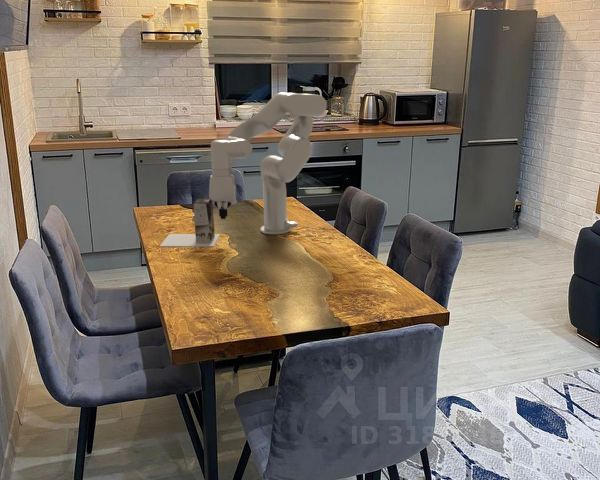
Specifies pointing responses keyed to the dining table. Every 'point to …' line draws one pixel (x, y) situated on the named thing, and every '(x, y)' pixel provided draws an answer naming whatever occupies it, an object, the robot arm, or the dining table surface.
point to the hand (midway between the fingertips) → (223, 218)
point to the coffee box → (204, 221)
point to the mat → (186, 241)
